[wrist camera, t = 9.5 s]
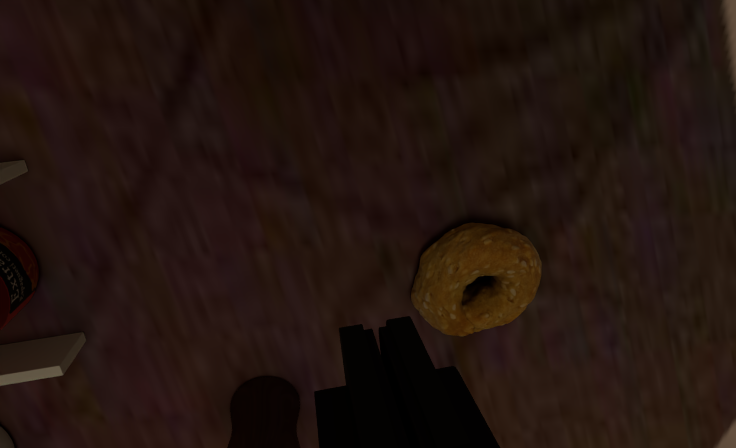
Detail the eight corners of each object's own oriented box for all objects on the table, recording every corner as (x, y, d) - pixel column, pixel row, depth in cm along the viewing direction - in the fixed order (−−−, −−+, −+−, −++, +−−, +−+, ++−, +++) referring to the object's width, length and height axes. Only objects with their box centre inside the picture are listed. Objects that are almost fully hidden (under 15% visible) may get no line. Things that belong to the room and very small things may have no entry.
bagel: (386, 256, 41) (399, 282, 36) (503, 193, 41) (530, 211, 36) (434, 342, 44) (451, 375, 40) (541, 285, 44) (570, 311, 40)
